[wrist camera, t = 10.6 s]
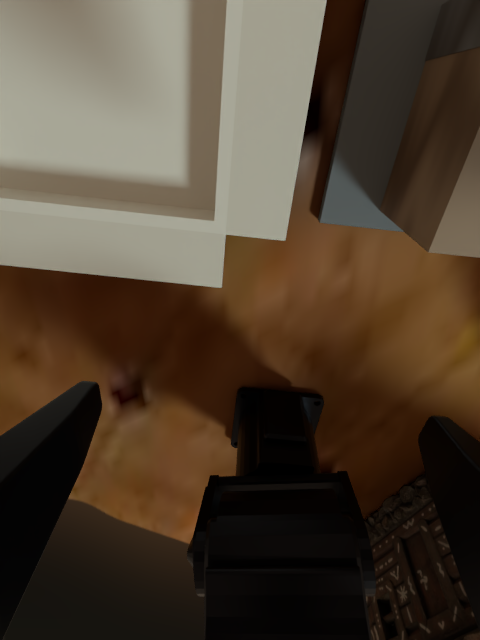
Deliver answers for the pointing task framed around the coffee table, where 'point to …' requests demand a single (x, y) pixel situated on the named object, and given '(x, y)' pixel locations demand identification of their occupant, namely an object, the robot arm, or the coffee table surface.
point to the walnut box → (443, 142)
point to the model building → (415, 573)
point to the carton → (150, 131)
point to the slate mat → (377, 109)
